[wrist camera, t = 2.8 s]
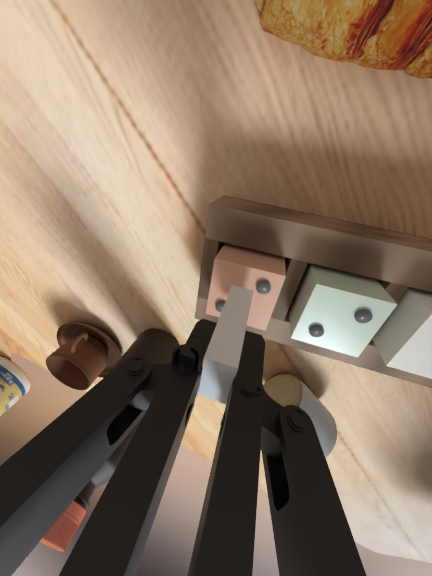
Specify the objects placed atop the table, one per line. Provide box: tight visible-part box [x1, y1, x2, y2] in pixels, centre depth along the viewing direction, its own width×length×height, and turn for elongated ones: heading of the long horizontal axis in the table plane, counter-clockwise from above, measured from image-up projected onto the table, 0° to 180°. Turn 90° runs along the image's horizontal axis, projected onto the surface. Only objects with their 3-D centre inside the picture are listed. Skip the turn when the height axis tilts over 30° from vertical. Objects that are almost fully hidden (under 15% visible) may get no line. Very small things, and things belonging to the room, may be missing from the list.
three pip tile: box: [206, 243, 286, 331], centre depth 17 cm, size 5×5×4 cm
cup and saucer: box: [46, 322, 122, 390], centre depth 34 cm, size 12×12×6 cm
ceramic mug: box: [263, 374, 337, 458], centre depth 28 cm, size 10×8×7 cm
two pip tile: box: [289, 264, 398, 358], centre depth 16 cm, size 5×5×4 cm
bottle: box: [39, 329, 179, 552], centre depth 24 cm, size 7×7×20 cm
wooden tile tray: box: [195, 196, 432, 388], centre depth 19 cm, size 22×11×5 cm, turn 81°
